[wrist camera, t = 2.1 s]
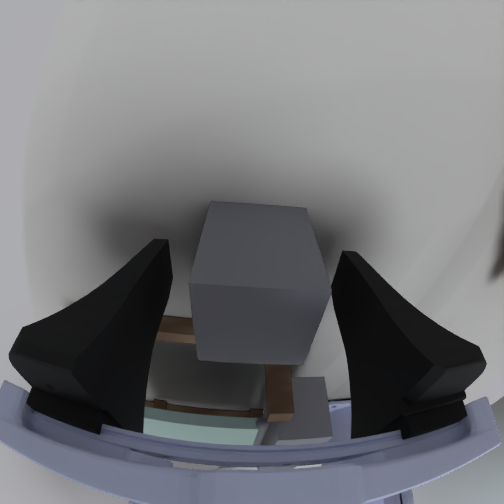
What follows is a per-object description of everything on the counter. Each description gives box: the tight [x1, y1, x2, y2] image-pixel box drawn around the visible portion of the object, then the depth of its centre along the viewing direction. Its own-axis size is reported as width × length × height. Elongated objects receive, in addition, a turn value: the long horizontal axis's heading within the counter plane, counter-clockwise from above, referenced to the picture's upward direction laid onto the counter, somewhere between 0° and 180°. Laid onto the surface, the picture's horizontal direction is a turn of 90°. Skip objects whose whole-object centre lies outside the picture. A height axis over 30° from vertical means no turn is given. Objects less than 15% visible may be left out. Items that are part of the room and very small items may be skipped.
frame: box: [145, 316, 294, 421], centre depth 18 cm, size 14×15×6 cm
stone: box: [189, 201, 332, 365], centre depth 11 cm, size 4×4×5 cm
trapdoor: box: [143, 377, 333, 470], centre depth 17 cm, size 12×11×4 cm
